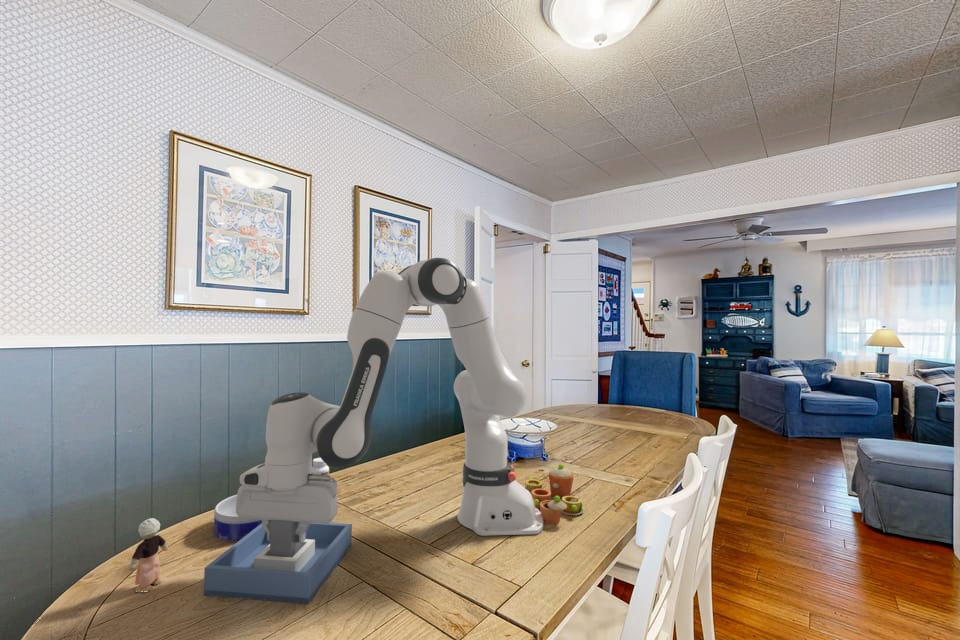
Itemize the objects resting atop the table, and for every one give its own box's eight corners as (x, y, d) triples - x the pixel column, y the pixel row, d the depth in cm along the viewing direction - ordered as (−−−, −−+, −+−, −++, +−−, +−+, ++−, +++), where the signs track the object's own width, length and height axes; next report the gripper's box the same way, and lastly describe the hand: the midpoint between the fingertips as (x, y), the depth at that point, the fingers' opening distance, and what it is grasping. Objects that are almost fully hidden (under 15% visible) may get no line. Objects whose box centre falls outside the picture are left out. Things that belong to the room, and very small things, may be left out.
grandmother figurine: (149, 575, 83) (152, 510, 83) (170, 575, 84) (172, 510, 84) (120, 601, 76) (122, 529, 76) (142, 600, 76) (145, 529, 76)
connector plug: (301, 551, 89) (302, 507, 89) (290, 562, 85) (292, 517, 85) (281, 549, 89) (282, 506, 90) (269, 561, 85) (270, 516, 85)
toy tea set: (518, 489, 134) (519, 458, 134) (566, 488, 135) (567, 458, 135) (538, 528, 108) (539, 490, 108) (597, 527, 109) (598, 489, 109)
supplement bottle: (321, 497, 123) (322, 463, 123) (305, 495, 124) (306, 461, 124) (332, 490, 128) (333, 457, 128) (315, 488, 129) (316, 455, 129)
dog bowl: (250, 547, 95) (251, 520, 95) (197, 536, 99) (198, 510, 99) (297, 518, 110) (298, 494, 110) (250, 509, 114) (250, 486, 114)
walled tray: (351, 546, 96) (351, 524, 96) (308, 603, 76) (309, 575, 76) (267, 540, 98) (267, 518, 98) (203, 595, 78) (204, 567, 78)
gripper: (343, 470, 90) (341, 536, 89) (251, 465, 91) (249, 530, 91) (330, 481, 83) (328, 552, 83) (231, 475, 85) (229, 545, 85)
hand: (286, 540), depth 87 cm, fingers closed on connector plug, 4 cm apart
